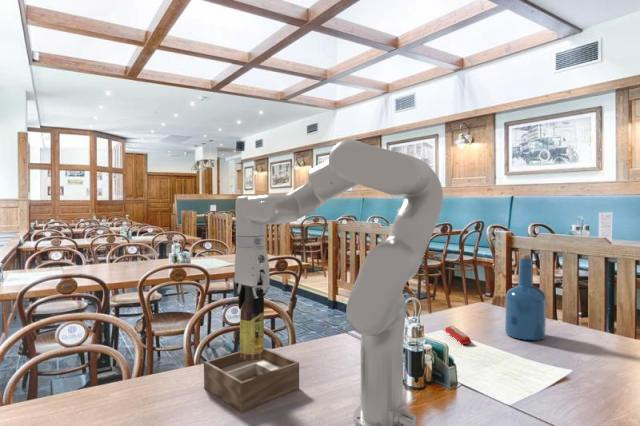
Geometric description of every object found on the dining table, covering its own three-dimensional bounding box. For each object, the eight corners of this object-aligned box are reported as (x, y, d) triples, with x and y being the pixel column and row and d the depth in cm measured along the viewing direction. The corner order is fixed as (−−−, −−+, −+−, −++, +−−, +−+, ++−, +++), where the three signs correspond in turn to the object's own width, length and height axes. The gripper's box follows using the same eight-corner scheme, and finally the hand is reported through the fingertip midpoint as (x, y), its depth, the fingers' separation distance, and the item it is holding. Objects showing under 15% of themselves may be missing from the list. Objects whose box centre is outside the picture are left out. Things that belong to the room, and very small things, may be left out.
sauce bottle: (258, 362, 106) (258, 286, 106) (235, 360, 108) (235, 284, 107) (267, 353, 113) (267, 280, 112) (245, 351, 114) (245, 279, 113)
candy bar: (443, 332, 158) (443, 324, 158) (452, 331, 158) (453, 324, 158) (462, 347, 142) (462, 338, 142) (472, 346, 142) (472, 338, 142)
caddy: (299, 388, 111) (299, 362, 110) (241, 412, 98) (241, 383, 98) (259, 368, 123) (259, 345, 123) (204, 387, 111) (203, 362, 111)
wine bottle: (496, 333, 156) (497, 253, 155) (521, 328, 161) (522, 251, 160) (529, 344, 143) (530, 258, 142) (554, 339, 149) (556, 255, 148)
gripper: (282, 243, 106) (282, 314, 106) (244, 239, 118) (244, 302, 119) (257, 246, 101) (258, 320, 101) (220, 241, 113) (221, 307, 114)
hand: (251, 309), depth 110 cm, fingers closed on sauce bottle, 5 cm apart
